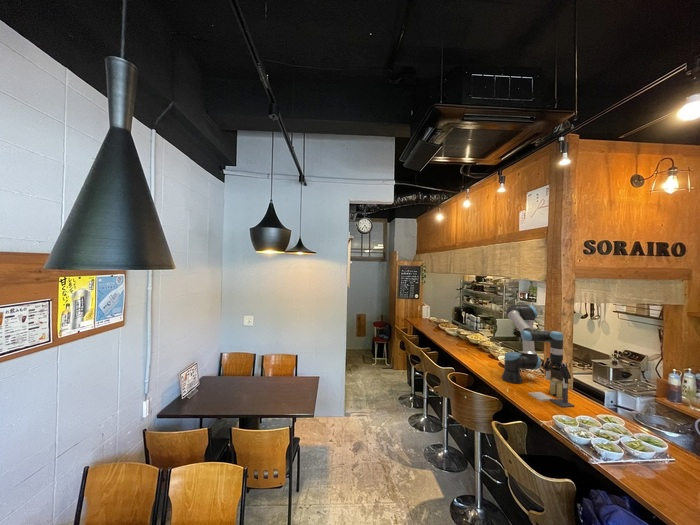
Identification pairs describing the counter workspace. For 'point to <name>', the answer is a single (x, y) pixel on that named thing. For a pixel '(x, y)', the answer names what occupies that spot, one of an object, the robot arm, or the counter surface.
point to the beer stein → (558, 375)
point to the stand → (564, 401)
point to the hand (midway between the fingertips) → (556, 383)
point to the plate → (540, 396)
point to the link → (559, 387)
